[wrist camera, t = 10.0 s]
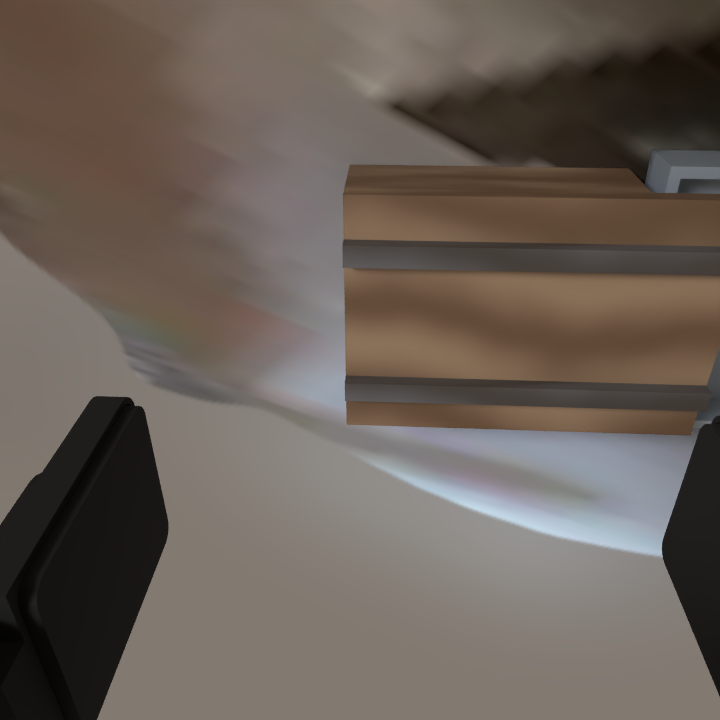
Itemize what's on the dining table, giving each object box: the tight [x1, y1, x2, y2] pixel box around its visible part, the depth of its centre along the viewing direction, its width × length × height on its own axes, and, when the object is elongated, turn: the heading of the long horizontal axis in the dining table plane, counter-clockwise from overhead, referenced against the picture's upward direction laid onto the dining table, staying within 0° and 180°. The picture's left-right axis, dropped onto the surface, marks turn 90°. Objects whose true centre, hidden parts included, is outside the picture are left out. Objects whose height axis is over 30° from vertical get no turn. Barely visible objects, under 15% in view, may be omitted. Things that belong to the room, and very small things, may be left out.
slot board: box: [343, 165, 720, 435], centre depth 38 cm, size 14×20×6 cm
